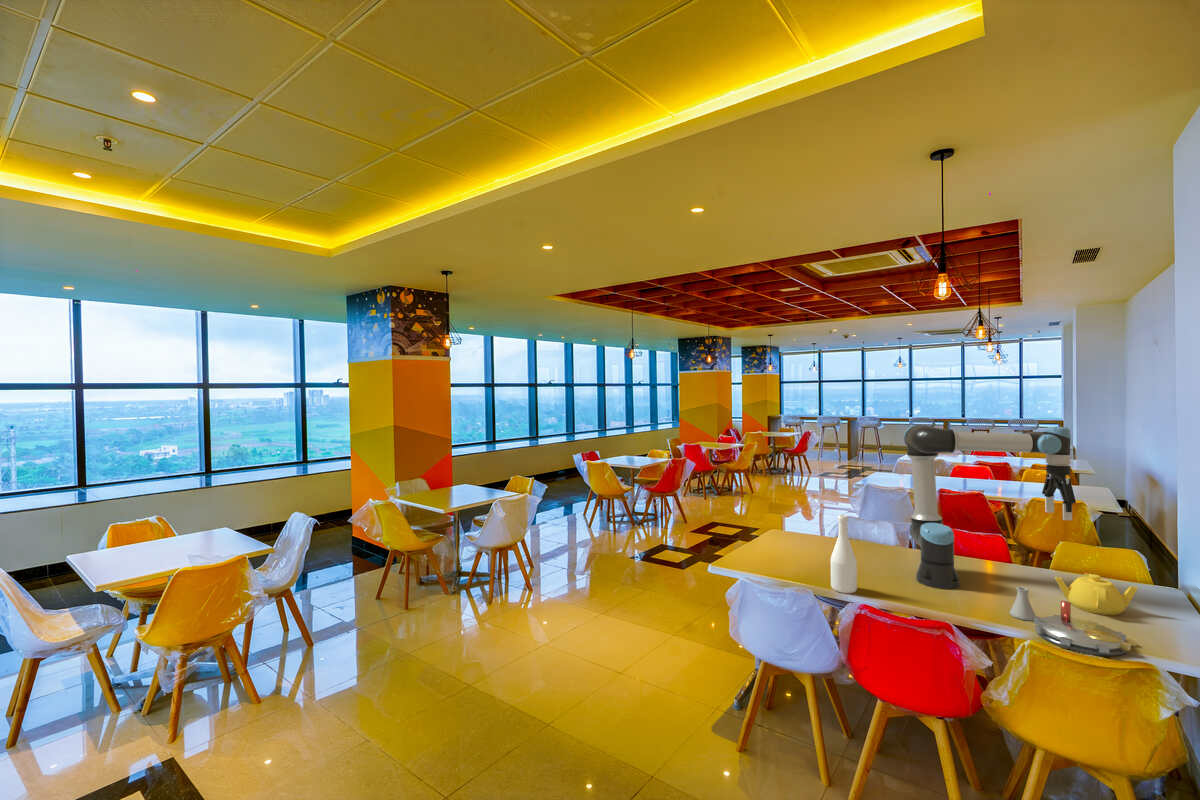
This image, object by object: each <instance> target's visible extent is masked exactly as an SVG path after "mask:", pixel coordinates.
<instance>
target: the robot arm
mask: <svg viewBox="0 0 1200 800" xmlns="http://www.w3.org/2000/svg"><path fill="white" fill-rule="evenodd" d="M1071 440H1072V438H1071V430H1070V428H1068V427H1067V426H1066V427H1065V426H1047V427H1046V428H1045V431H1014V432H1011V433H1010V432H1009V433H1007V432H973V431H972V432H969V431H968V432H967V431H964V432H962V431H955V430H953V429H947V428H945V429H944V428H938V427H933V426H930V425H925V424H914V425H911V426H910V427H908V428H907V429H906V430H905V432H904V434H903V441H904V444H905V445H906V453H907V454H906V456H907V457H908V458H910V460H911V471H912V473H911V474H912V488H913V504H914V505H913V506H914V507H913V508H914V513H913V514H912V515H911V516H910V520H911V521H910V525H909V528H908V529H909V534H910V535H909V536H910V537H911V539H912V540H913V542H914V543H916V544H917V545H918V546H919V547H920V563H919V566H918V568H917V571H916V574H915V575H916V576H915V577H916V578H915V579H916V581H917V582H918V583H920V584H923V585H924V586H928V587H931V588H938V589H946V590H948V589H949V590H950V589H952V590H953V589H957V588H959V587H960V578H959V576H958V573H957V570H956V568H955V534H954V530H953V529H952V528H951V527H950V526H948V525H945V524H944V523H943V517H941V515H940V514H938V500H937V485H936V484H937V482H936V465H935V459H937V458H938V456H939V454H943V453H944V454H946V453H950V454H953V453H955V452H956V451H963V452H998V453H999V452H1000V453H1001V452H1002V453H1003V452H1004V453H1033V454H1035V453H1036V454H1044V455H1045V463H1046V466H1045V467H1046V469H1045V470H1046V471H1045V472H1046V474H1045V481H1044V485H1043V486H1042V487H1043V488H1042V492H1041V493H1042V495H1043V496H1044V499H1045V503H1044V507H1045V509H1044V510H1045V513H1049V514H1050V513H1051V514H1053V513H1055V495H1054V494H1055V492H1056V490H1059V493H1060V495H1061V498H1062V500H1063V502H1062V520H1063V521H1073V504H1076V503H1077V501H1076V498H1075V493H1074V489H1073V486H1072V479H1071V478H1067V476H1069V475H1071V466H1070V464H1071V459H1072V456H1071Z"/></svg>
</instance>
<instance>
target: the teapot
mask: <svg viewBox="0 0 1200 800" xmlns="http://www.w3.org/2000/svg"><path fill="white" fill-rule="evenodd" d="M1054 579H1055V580H1056V582H1057V584H1058V586H1059V588H1060V590H1061V592H1062V595H1063V596H1064V597H1065V598H1066V599H1067V600H1066V601H1067V602H1070V603H1071V605H1072V606H1073V607H1075V608H1076V609H1078V610H1081V611H1084V612H1086V613H1087V612H1088V613H1092V614H1095V615H1096V614H1097V615H1103V616H1117V615H1120V614H1122V613H1123V612H1124V611H1125V610H1126V608H1128V606H1129V604H1130V602H1131V601H1132V600H1133V597H1134V596H1135V595H1136V592H1137V590H1138V587H1137V586H1129V587H1128V588H1127V589H1126V590H1125V591H1124V592H1123V593H1122V594H1121V593H1120V592H1119V590H1118V588H1117V587H1116V586H1115V585H1114V583H1113V582H1112V581H1109V580H1107V579H1104V578H1102V577H1101V575H1099V574H1094V573H1093V574H1092V573H1090V572H1088V573H1087V572H1083V576H1078V577H1077V578H1076V579H1074V580H1073V582H1072V583H1071V584H1070V585H1069V586H1067V584H1066V583H1065V582H1064V580H1063V578H1062V577H1061V576H1060V577H1058V576H1055V577H1054Z"/></svg>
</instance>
